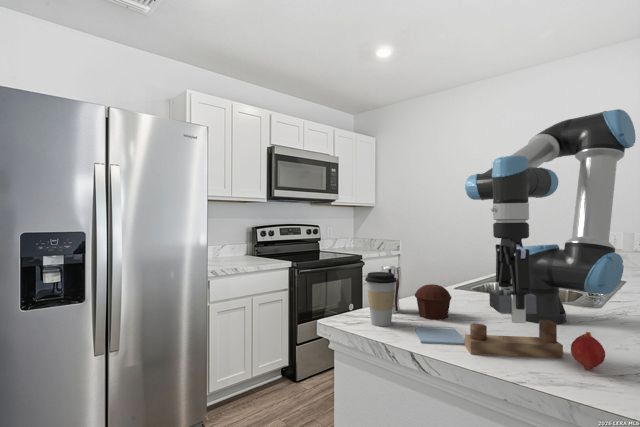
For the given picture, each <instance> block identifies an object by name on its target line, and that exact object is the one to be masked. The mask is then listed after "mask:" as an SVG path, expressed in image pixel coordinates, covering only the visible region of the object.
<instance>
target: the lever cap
mask: <svg viewBox="0 0 640 427" xmlns="http://www.w3.org/2000/svg"><path fill="white" fill-rule="evenodd" d="M503 289H504V290H500V289H489V290H488V291H489V307H491V308H492V309H493V310H495V311H496V312H497V313H499V314H500V313H512V305H511V294H510V292H513V287H511V288H503ZM525 307H526V313H528V314H537V310H536V296H535V295H533V294H531V293H530V294H527V295H525Z"/></svg>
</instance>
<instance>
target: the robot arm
mask: <svg viewBox="0 0 640 427" xmlns="http://www.w3.org/2000/svg"><path fill="white" fill-rule="evenodd" d="M635 143H636V130H635V125H634V122H633V121H632V118H631V116H630V115H629V114H628V112H626V111H625V110H624V109H620V108H617V109H612V110H604V111H601V112H598V113H592V114H589V115H583V116H579V117H574V118H569V119H565V120H561V121H559V122H556V123H554V124H553V125H550V126H549V127H546V128H545V129H544V130H542V131H540V132H538V133H537V134H535V135H534V136H533V137H531V138H530V140H529V141H528V144H526V145H524V146H523V147H521V148H520V149H518V150H517V151H516V152H514V153H512V154H511V155H506V156H501V157H497V158H495V159H494V160H493V162H492V167H491V168H489V169H487V171H485V172H481V173H476V174H470V176H468V178H467V179H466V180H465V183H464V189H465V192H466V193H465V194H466V195H467V197H468V198H469V199H471V200H474V201H475V200H476V201H479V200H481V201H485V200H489V201H490V200H492V207H491V208H490V210H491V212H492V218H493V220H494V221H496V222H494V223H493V224H492V227H493V230H492V231H493V232H492V233H493V238H496V239H500V243H498V244H495V247H494V248H495V258H496V259H495V283H498V285H497V286H498V287H499V290H504V289H503V288H512V289H513V292H510V294H511V305H512V313H499V314H500V315H511V323H512V324H527V322H532V323H538V324H539V320H551V321H552V322H554V323H556V324H563V323H566V321H567V312H566V310H565V306H564V304H563V301H562V300H561V299H562V298H561V297H560V289H565V290H570V291H571V290H572V291H577V292H584V293H588V294H592V295H593V294H596V295H597V294H598V295H609V294H611V293H613V292H614V291H615V290H616V288H618V286H619V285H620V283H621V281H622V278H623V273H624V261H623V260H624V259H623V257H622V256H621V255H620V254H618V253H617V252H616V247H615V246H614V245H613V244H612V243H611V242H610V234H611V224H612V216H613V215H612V213H613V205H614V204H613V203H614V196H615V195H614V194H615V193H614V192H615V184H616V173H617V165H618V164H617V163H618V161H620V160H621V159H623V158H624V157H625V151H626V149H627V150H628V149H630V148H632V147H634V146H635ZM568 156H569V157H570V156H574V157H575V159H576V160H578V162H579V164H580V165H579V171H578V172H579V173H578V180H577V181H578V182H577V189H576V190H577V191H576V198H575V207H574V217H573V226H572V234H571V238H570V239H568V240H566V241H565V243H564V248H563V249H560V246H559V244H558V243H557V244H556V243H555V244H554V243H553V244H540V245H537V244H536V245H525V246H524V245H523V241H522V240H523V239H528V238H530V224H529V222H527V221H528V220H530V203H529V198H535V199H538V198H540V199H541V198H547V197H549V196H551V195H553V194H554V193H555V192H556V191H557V189H558V187H559V177H558V176H557V173H555V172H554V171H553V170H551V169H548V168H545V167H540V166H541V165H543V164H544V163H548V162H552V161H554V160H555V159H558V158H562V157H568ZM530 293H531V294H533V295H535V296H536V310H537V314H528V313H526V307H525V295H527V294H530ZM526 321H527V322H526Z"/></svg>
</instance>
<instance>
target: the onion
mask: <svg viewBox="0 0 640 427" xmlns="http://www.w3.org/2000/svg"><path fill="white" fill-rule="evenodd" d="M570 352H571V356H572V357H573V359H574V360H575V361H576V362H577V363H578V364H579V365H580V366H582V367H583V368H584V370H588V371H591V370H593V369H595V368H596V367H599V366H600V365H601V364H603V363H604V361H605V358H606V351H605V348H604V347H603V345H602V344H601V342H599V340H598V339H596V338H595V337H593V335H592V334H591V332H590V331H586V332H585V333H583V334H581V335H579V336H578V337H576V338H575V339H574V340H573V341H572V343H571V344H570Z"/></svg>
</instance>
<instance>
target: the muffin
mask: <svg viewBox="0 0 640 427" xmlns="http://www.w3.org/2000/svg"><path fill="white" fill-rule="evenodd" d="M414 298H416V303H417V310H418V315H419V317H420V318H422V317H423V318H422V319H425V320H432V321H444V320H445V319H448V316H449V312H450V305H451V301H452V300H451V299H453V298H452V295H451V294H450V292H449V290H447V289H446V288H445V287H443V286H442V285H438V284H431V283H430V284H429V283H428V284H425V285H422V286H421V287H419V288H417V291H416V292H415V294H414Z"/></svg>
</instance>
